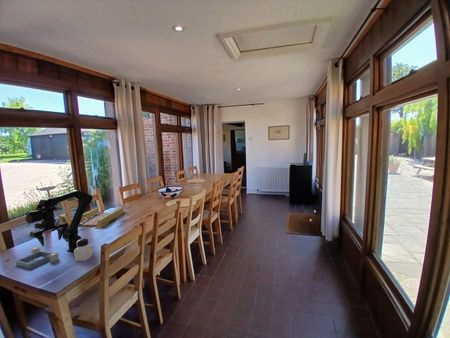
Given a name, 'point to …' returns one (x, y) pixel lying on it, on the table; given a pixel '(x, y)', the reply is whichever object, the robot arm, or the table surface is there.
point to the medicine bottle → (83, 250)
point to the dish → (29, 263)
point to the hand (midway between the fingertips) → (51, 242)
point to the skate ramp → (101, 222)
